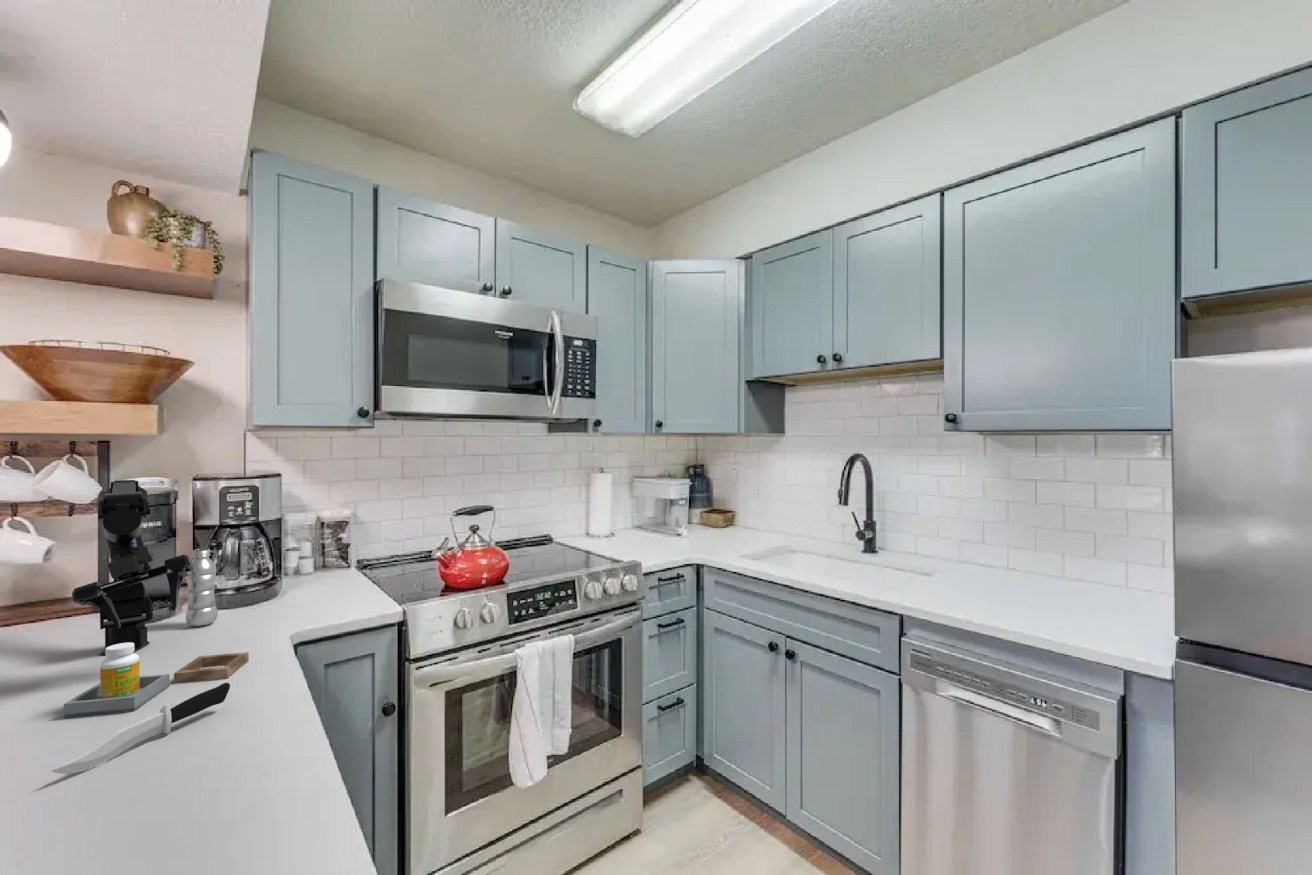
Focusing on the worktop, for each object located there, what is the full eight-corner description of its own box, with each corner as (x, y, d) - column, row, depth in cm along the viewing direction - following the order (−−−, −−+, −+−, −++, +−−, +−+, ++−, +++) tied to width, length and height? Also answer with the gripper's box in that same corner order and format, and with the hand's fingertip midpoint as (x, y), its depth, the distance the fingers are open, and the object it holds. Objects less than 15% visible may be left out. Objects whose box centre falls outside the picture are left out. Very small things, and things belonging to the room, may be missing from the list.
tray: (63, 718, 101) (63, 703, 101) (106, 692, 111) (105, 679, 111) (134, 711, 103) (134, 697, 103) (169, 686, 114) (169, 673, 114)
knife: (55, 788, 81) (55, 752, 81) (47, 785, 81) (47, 750, 81) (232, 707, 105) (232, 680, 105) (225, 706, 105) (225, 679, 105)
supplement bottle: (114, 705, 104) (114, 651, 104) (92, 702, 106) (92, 649, 106) (147, 692, 110) (146, 641, 110) (125, 690, 111) (125, 640, 111)
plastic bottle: (223, 622, 154) (223, 548, 154) (196, 630, 147) (195, 553, 147) (207, 620, 156) (206, 546, 156) (179, 627, 149) (178, 551, 149)
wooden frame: (174, 683, 115) (174, 673, 115) (199, 665, 124) (199, 656, 124) (227, 678, 117) (227, 668, 117) (248, 661, 127) (248, 652, 127)
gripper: (52, 558, 111) (73, 634, 108) (173, 523, 121) (195, 592, 119) (73, 568, 119) (93, 639, 117) (184, 536, 130) (204, 599, 128)
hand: (147, 617), depth 120 cm, fingers open, 9 cm apart
